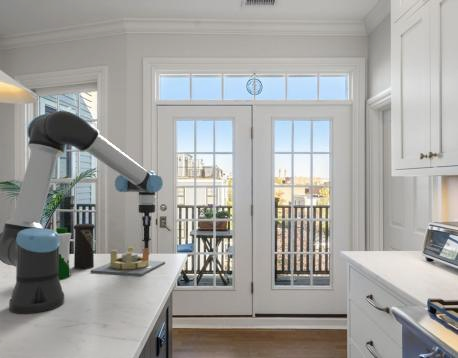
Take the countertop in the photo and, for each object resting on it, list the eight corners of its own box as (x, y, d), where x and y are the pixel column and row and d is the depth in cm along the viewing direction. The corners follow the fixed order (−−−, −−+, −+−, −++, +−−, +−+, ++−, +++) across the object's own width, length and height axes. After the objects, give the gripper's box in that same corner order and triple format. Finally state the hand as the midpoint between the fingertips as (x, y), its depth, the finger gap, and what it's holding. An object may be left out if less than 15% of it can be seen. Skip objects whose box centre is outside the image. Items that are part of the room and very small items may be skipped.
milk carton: (73, 276, 144) (73, 228, 144) (53, 282, 136) (53, 230, 136) (59, 274, 148) (59, 226, 148) (38, 279, 140) (39, 229, 140)
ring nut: (108, 270, 150) (108, 254, 150) (112, 261, 166) (113, 247, 166) (148, 268, 153) (148, 252, 153) (148, 260, 169) (148, 246, 169)
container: (89, 269, 156) (90, 224, 156) (69, 269, 156) (70, 224, 156) (97, 265, 165) (97, 222, 165) (78, 265, 165) (78, 222, 165)
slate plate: (141, 276, 145) (141, 261, 145) (90, 272, 150) (90, 258, 151) (165, 263, 168) (165, 251, 168) (120, 260, 174) (120, 248, 174)
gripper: (155, 205, 157) (154, 257, 157) (155, 202, 169) (154, 251, 169) (137, 205, 155) (137, 258, 155) (139, 203, 168) (138, 252, 168)
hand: (146, 254), depth 162 cm, fingers closed
